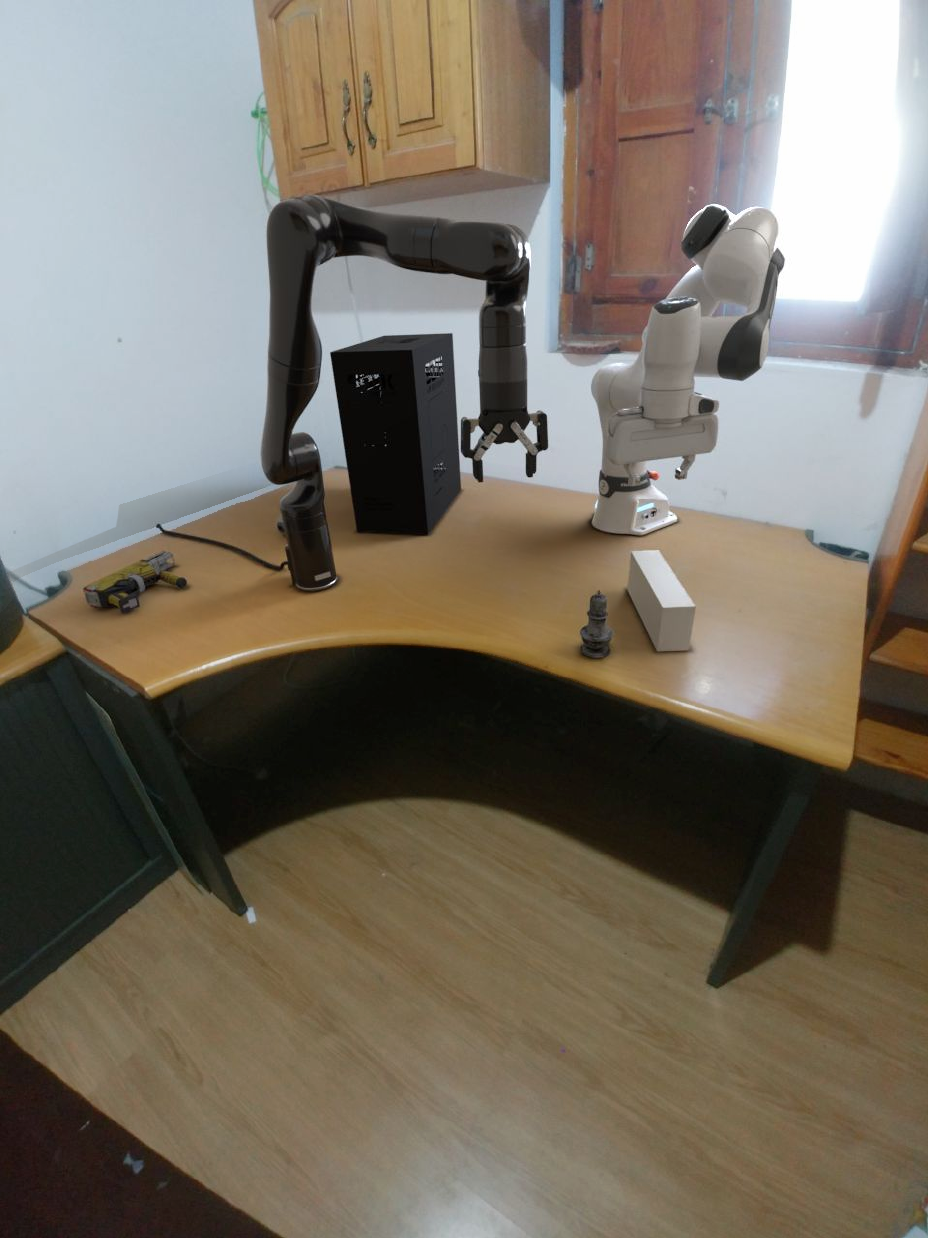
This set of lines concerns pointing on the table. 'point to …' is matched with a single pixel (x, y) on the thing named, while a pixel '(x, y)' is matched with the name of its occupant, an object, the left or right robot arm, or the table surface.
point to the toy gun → (131, 583)
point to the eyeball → (280, 524)
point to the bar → (660, 601)
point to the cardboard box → (399, 430)
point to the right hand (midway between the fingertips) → (657, 481)
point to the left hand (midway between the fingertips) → (504, 478)
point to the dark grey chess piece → (596, 628)
